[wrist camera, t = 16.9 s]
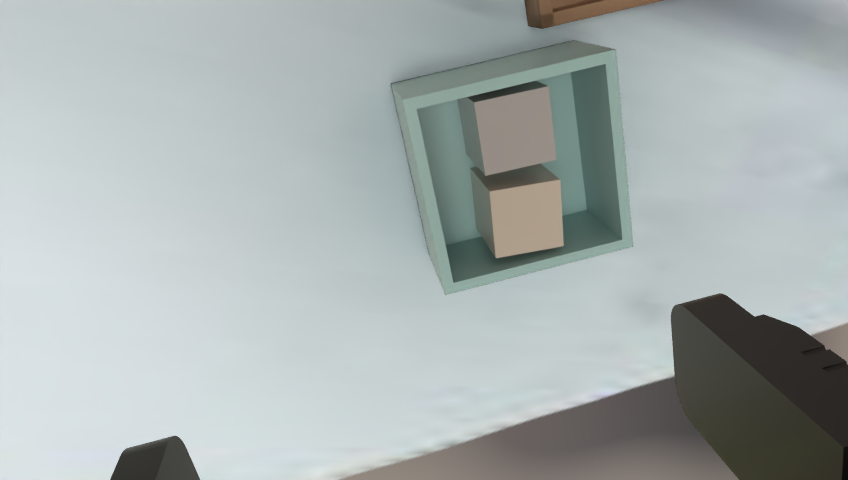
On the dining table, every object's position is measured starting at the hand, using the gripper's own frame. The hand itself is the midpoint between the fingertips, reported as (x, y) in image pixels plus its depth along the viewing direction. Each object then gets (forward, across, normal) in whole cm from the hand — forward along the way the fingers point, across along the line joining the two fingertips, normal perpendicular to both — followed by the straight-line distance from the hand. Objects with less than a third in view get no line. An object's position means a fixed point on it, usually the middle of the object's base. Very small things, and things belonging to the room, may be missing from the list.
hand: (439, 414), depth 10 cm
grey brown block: (+30, -8, +2) cm, 31 cm away
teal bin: (+30, -8, +5) cm, 32 cm away
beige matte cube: (+30, -8, +8) cm, 31 cm away
